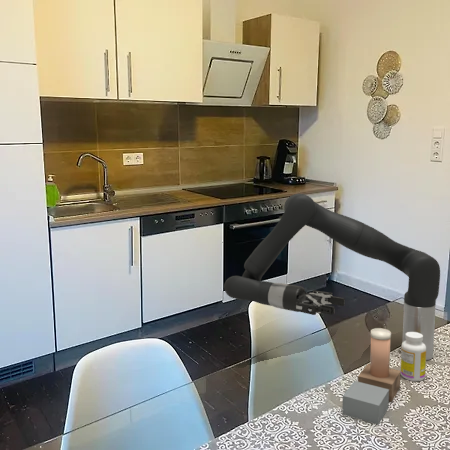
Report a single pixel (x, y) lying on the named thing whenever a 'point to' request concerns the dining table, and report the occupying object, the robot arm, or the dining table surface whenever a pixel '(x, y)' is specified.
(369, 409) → the stand
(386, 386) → the stand
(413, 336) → the supplement bottle
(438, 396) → the dining table surface
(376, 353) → the canister
